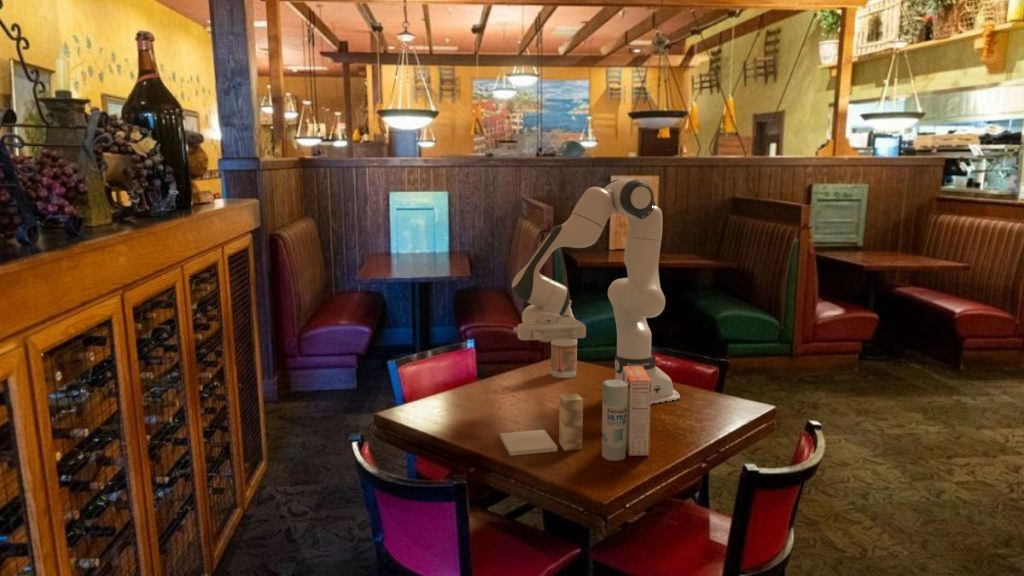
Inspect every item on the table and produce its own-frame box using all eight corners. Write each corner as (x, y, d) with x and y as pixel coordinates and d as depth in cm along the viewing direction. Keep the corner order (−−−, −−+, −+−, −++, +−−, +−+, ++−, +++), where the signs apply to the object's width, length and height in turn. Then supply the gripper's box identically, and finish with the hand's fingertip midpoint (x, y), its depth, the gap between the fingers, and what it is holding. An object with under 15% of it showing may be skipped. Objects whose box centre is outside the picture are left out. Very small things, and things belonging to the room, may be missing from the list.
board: (544, 433, 202) (544, 429, 202) (557, 451, 189) (557, 446, 189) (499, 437, 199) (499, 433, 199) (510, 455, 187) (510, 451, 186)
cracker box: (620, 436, 200) (622, 365, 196) (641, 436, 200) (644, 365, 196) (626, 456, 186) (628, 380, 182) (649, 456, 186) (652, 380, 182)
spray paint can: (605, 461, 183) (606, 387, 179) (598, 452, 189) (599, 380, 186) (629, 460, 184) (631, 386, 180) (621, 450, 190) (623, 378, 186)
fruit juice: (546, 376, 257) (547, 301, 253) (557, 370, 266) (558, 297, 261) (570, 380, 253) (571, 303, 248) (580, 373, 261) (581, 299, 256)
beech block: (576, 442, 196) (577, 393, 193) (582, 449, 191) (583, 399, 189) (559, 443, 195) (559, 394, 192) (564, 450, 190) (565, 400, 188)
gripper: (512, 317, 210) (523, 327, 197) (577, 315, 215) (592, 325, 202) (511, 338, 211) (522, 349, 198) (576, 335, 216) (591, 346, 203)
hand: (558, 337), depth 200 cm, fingers open, 8 cm apart
